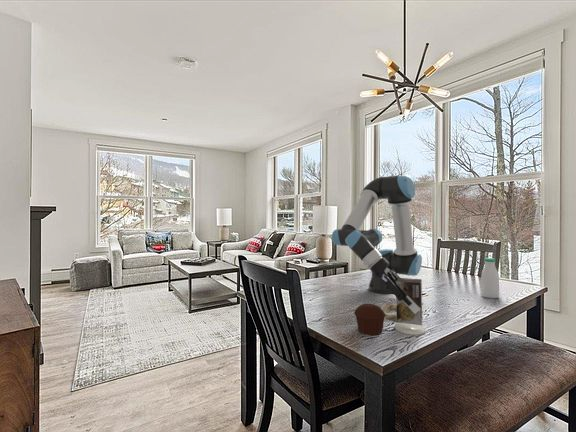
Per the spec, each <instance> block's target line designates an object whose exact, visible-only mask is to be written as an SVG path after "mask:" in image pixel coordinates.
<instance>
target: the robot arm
mask: <svg viewBox="0 0 576 432" xmlns="http://www.w3.org/2000/svg"><path fill="white" fill-rule="evenodd" d="M415 195H416V186H415V182H414V180H413V179H412V177H411V176H409V175H408V174H407V175H406V174H405V175H404V174H403V175H400V174H399V175H390V176H389V175H388V176H378V177H376V178H375V179H373V180H371V181H370V182H369V183H367V184H366V186H364V187H363V189H362V190H361V192H360V194H359V196H360V197H359V198H358V200H357V202H356V203H355V205H354V207H353V209H352V211H351V212H350V213H349V215H348V216H347V218H346V220H345V222H343V225H342V227H341V228H337V229H335V230H333V231H332V234H331V241H332V243H333V244H334V245H336V246H341V247H349V249H350V250H351V251H352V252H353V253H354V254H355V255H356V256H357V257H358V258H359V259H360V261H362V263H363V265H364V266H367V268H369V270H370V271H371V278H370V280H369V283H368V291H371V292H372V291H373V292H372V293H376V292H377V294H378V293H379V294H393V295H394V296H395V298H396V297H397V298H398V299H399V301H401V300H402V301H403V302H404V303H405V304H406V305H407V306H408V307H409V308H410V309H411V310H412V311H413V313H414V314H416V313H417V312H418V311H419V310H421V309H420V308H419V307H418V306H417V305H416V304H415V303H414V301H413V300H412V299H411V298H410V297H409V296H408V295H407V296H406V294H405V293H404V292H403V290H402V289H401V288H400V287H399V286H398V285H397V284H396V280H397V278H401V276H400V275H405V276H413V277H415V276H417V275H419V273H420V271H421V268H422V265H423V263H422V262H423V257H422V255H421V254H420V253H418V249H417V248H415V246H414V241H413V233H412V232H413V231H412V222H411V221H412V220H411V211H410V203H411V202H412V201H413V198H414V197H415ZM379 200H387V203H388V205H390V206H391V211H392V222H393V229H394V230H393V231H394V239H395V249H392V248H387V249H386V248H385V249H377V248H376V247H377V246H378V245H379V244H381V242H382V241H383V234H382V233H381V231H380V230H379V229H377V228H370V229H368V230H361V227H362V226H363V223H364V222H365V220H366V218H367V216H368V215H369V213H370V211H371V210H372V208H373V205H375V204H377V203H378V201H379ZM423 305H424V303H423V302H422V306H423Z"/></svg>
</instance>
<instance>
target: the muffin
mask: <svg viewBox="0 0 576 432" xmlns="http://www.w3.org/2000/svg"><path fill="white" fill-rule="evenodd" d="M353 313H354V316H355V318H356V324H357V330H358V332H359V334H360V333H361V334H362V335H365V336H370V337H373V336H379V335H380V334H382V333H383V328H384V321H385V319H384V317H385V313H384V312H383V310H382V309H381V307H380V306H378V305H377V304H373V303H363V304H360V305H358V306H357V308H355V310H354V312H353Z"/></svg>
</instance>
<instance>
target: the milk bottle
mask: <svg viewBox="0 0 576 432" xmlns="http://www.w3.org/2000/svg"><path fill="white" fill-rule="evenodd" d="M484 263H485V264H484V267H483V268H482V271H481V275H480V276H481V279H480V280H481V281H480V282H481V284H480V285H481V286H480V289H481V296H482V297H483V298H487V299H488V298H489V299H499V297H500V275H499V271H498V270H497V269H498V268H497V267H496V258H493V257H485V258H484Z"/></svg>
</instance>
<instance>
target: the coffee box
mask: <svg viewBox="0 0 576 432" xmlns="http://www.w3.org/2000/svg"><path fill="white" fill-rule="evenodd" d="M422 282H423V281H422V279H421V278H409V277H400V278H397V280H396V284H397V285H398V286H399V287H400V288H401V289H402V290H403V292H404V293H405V294H406V296H407V295H408V296H409V297H410V298H411V299H412V300H413V301H414V303H415V304H416V305H417V306H418V307H419V308H420V309H421V310H419V311H418V312H417V313H416V314H414V313H413V311H412V310H411V309H410V308H409V307H408V306H407V305H406V304H405V303H404V302H403V301H402V300H401V301H399V299H398V298H397V297H396V296H395V298H396V299H395V300H396V302H395V304H396V314H395V315H397V320H395V321H396V323H397V324H398V323H407V324H415V325H421V326H423V305H422V303H423V296H422V295H423V293H422V291H423V288H422V287H423V286H422V285H423V283H422Z"/></svg>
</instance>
